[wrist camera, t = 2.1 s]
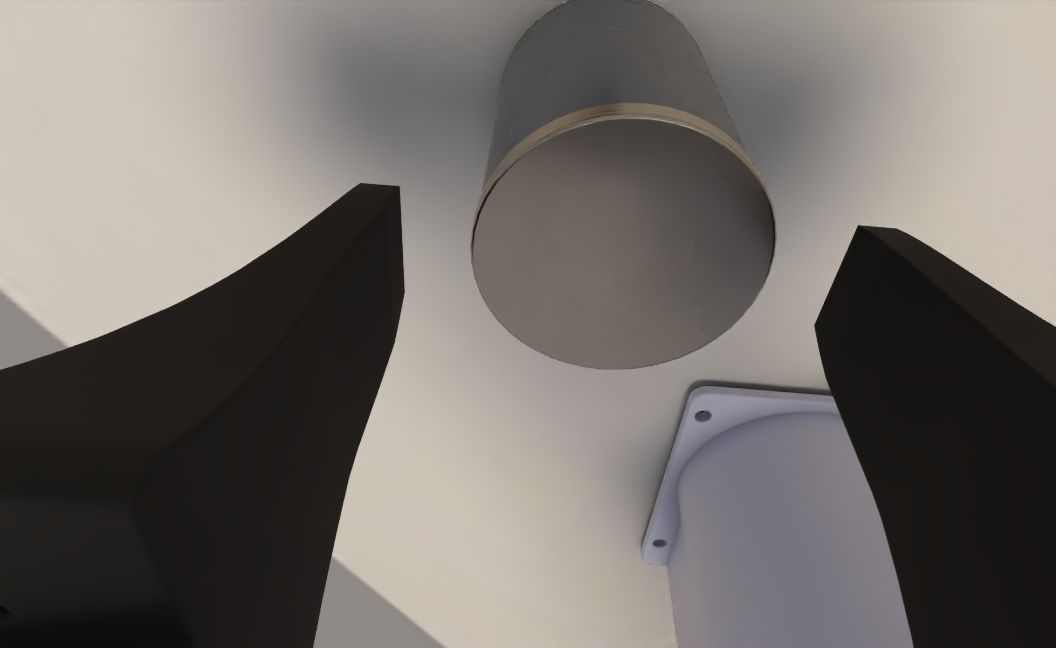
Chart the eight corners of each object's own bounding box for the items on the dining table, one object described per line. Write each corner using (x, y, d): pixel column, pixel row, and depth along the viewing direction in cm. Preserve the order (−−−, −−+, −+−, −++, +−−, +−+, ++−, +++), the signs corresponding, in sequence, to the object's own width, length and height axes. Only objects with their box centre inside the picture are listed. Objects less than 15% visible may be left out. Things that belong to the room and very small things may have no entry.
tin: (684, 204, 18) (731, 380, 13) (493, 187, 18) (466, 359, 13) (734, 1, 15) (821, 130, 10) (503, -20, 15) (474, 100, 10)
